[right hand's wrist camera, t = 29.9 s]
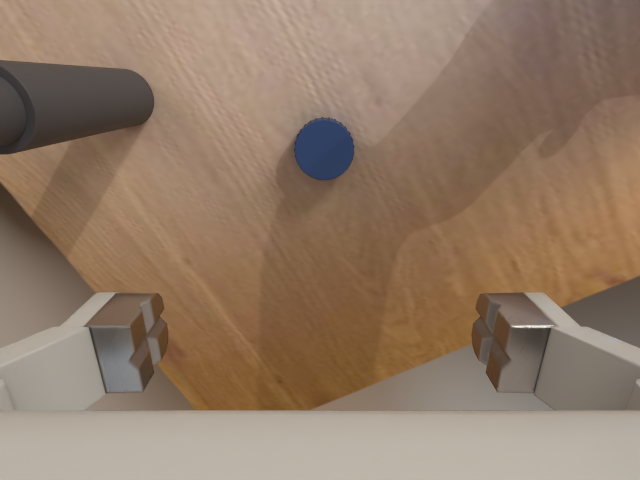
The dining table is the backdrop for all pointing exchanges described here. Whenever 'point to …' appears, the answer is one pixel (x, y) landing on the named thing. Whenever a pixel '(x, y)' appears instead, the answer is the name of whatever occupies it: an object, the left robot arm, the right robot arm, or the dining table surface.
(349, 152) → the lid
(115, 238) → the dining table surface
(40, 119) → the gray bottle
